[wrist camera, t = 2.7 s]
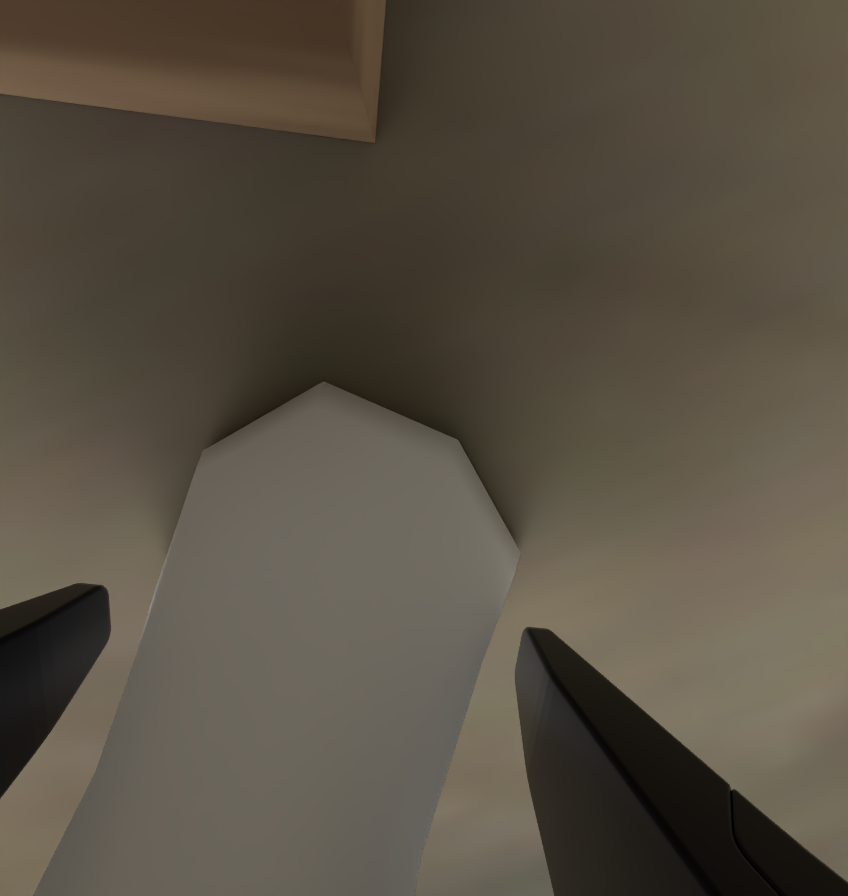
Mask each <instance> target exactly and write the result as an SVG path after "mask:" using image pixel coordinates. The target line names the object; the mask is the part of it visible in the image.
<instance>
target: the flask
mask: <svg viewBox="0 0 848 896" xmlns="http://www.w3.org/2000/svg"><path fill="white" fill-rule="evenodd" d="M520 555H521V552H520V551H519V549H518V547H517V545H516V543H515V542H514V540H513V538H512V536H511V534H510V533H509V531H508V529H507V527H506V525H505V524H504V522H503V520H502V518H501V516H500V515H499V513H498V511H497V509H496V507H495V506H494V504H493V502H492V500H491V498H490V497H489V495H488V493H487V491H486V489H485V488H484V486H483V484H482V482H481V480H480V479H479V477H478V475H477V473H476V471H475V470H474V468H473V466H472V464H471V462H470V461H469V459H468V457H467V455H466V453H465V452H464V450H463V448H462V446H461V444H460V443H459V441H458V440H457V439H455V438H453V437H450V436H448V435H446V434H443V433H441V432H439V431H437V430H434V429H432V428H430V427H427V426H425V425H423V424H420V423H418V422H416V421H414V420H411V419H409V418H407V417H404V416H402V415H400V414H398V413H395V412H393V411H391V410H388V409H386V408H384V407H381V406H379V405H377V404H375V403H372V402H370V401H368V400H365V399H363V398H361V397H358V396H356V395H354V394H352V393H349V392H347V391H345V390H342V389H340V388H338V387H335V386H333V385H331V384H329V383H326V382H324V381H323V382H321V383H320V384H318V385H316V386H314V387H313V388H311V389H309V390H307V391H306V392H304V393H302V394H300V395H299V396H297V397H295V398H294V399H292V400H290V401H288V402H287V403H285V404H283V405H281V406H280V407H278V408H276V409H274V410H273V411H271V412H269V413H267V414H266V415H264V416H262V417H260V418H259V419H257V420H255V421H253V422H252V423H250V424H248V425H247V426H245V427H243V428H241V429H240V430H238V431H236V432H234V433H233V434H231V435H229V436H227V437H226V438H224V439H222V440H220V441H219V442H217V443H215V444H213V445H212V446H210V447H208V448H206V449H205V450H203V451H202V453H201V456H200V459H199V462H198V465H197V468H196V470H195V473H194V476H193V479H192V482H191V485H190V488H189V491H188V494H187V497H186V500H185V503H184V506H183V509H182V512H181V515H180V518H179V521H178V524H177V527H176V530H175V533H174V536H173V539H172V542H171V544H170V547H169V550H168V553H167V556H166V559H165V562H164V565H163V568H162V571H161V574H160V577H159V580H158V583H157V586H156V589H155V592H154V596H153V599H152V602H151V606H150V609H149V613H148V616H147V620H146V623H145V627H144V630H143V633H142V637H141V640H140V644H139V647H138V651H137V654H136V657H135V660H134V663H133V666H132V669H131V672H130V675H129V677H128V680H127V683H126V686H125V689H124V692H123V695H122V698H121V700H120V703H119V706H118V709H117V712H116V715H115V718H114V720H113V723H112V726H111V729H110V732H109V735H108V738H107V741H106V743H105V746H104V749H103V752H102V755H101V758H100V761H99V763H98V766H97V769H96V772H95V774H94V776H93V778H92V780H91V782H90V784H89V786H88V788H87V790H86V792H85V794H84V796H83V798H82V800H81V802H80V804H79V806H78V808H77V810H76V811H75V813H74V815H73V817H72V819H71V821H70V823H69V825H68V827H67V829H66V831H65V833H64V835H63V837H62V839H61V841H60V843H59V845H58V847H57V849H56V851H55V853H54V855H53V857H52V859H51V861H50V863H49V865H48V867H47V869H46V871H45V873H44V875H43V877H42V879H41V881H40V883H39V885H38V887H37V889H36V891H35V893H34V895H33V896H415V891H416V885H417V879H418V874H419V868H420V862H421V856H422V852H423V849H424V846H425V842H426V839H427V836H428V833H429V830H430V827H431V823H432V820H433V817H434V814H435V811H436V807H437V804H438V801H439V798H440V795H441V791H442V788H443V785H444V782H445V779H446V776H447V772H448V769H449V766H450V763H451V760H452V756H453V753H454V750H455V747H456V744H457V740H458V737H459V734H460V731H461V728H462V724H463V721H464V718H465V715H466V712H467V709H468V705H469V702H470V699H471V696H472V693H473V689H474V686H475V683H476V680H477V677H478V673H479V670H480V667H481V664H482V661H483V658H484V656H485V653H486V650H487V648H488V645H489V642H490V640H491V637H492V634H493V631H494V629H495V626H496V623H497V621H498V618H499V615H500V613H501V610H502V607H503V605H504V602H505V599H506V597H507V594H508V591H509V588H510V586H511V583H512V580H513V578H514V574H515V571H516V568H517V565H518V561H519V558H520Z"/></svg>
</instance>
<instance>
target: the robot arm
mask: <svg viewBox="0 0 848 896" xmlns="http://www.w3.org/2000/svg"><path fill="white" fill-rule="evenodd" d="M110 631H111V622H110V607H109V594H108V591H107V589H106V588H105V587H104V586H103V585H95V584H85V583H77V584H73V585H70V586H68V587H65V588H62V589H59V590H56V591H53V592H50V593H47V594H44V595H41V596H38V597H35V598H33V599H30V600H27V601H24V602H21V603H18V604H15V605H12V606H9V607H6V608H3V609H0V798H1V797H2V796H3V795H4V793H5V792H6V791H7V789H8V788H9V787H10V785H11V784H12V783H13V781H14V780H15V779H16V777H17V776H18V775H19V774H20V772H21V771H22V770H23V768H24V767H25V766H26V764H27V763H28V762H29V760H30V759H31V758H32V756H33V755H34V754H35V753H36V751H37V750H38V748H39V747H40V746H41V744H42V743H43V742H44V740H45V739H46V738H47V736H48V735H49V733H50V732H51V730H52V729H53V727H54V726H55V724H56V723H57V721H58V720H59V718H60V717H61V715H62V714H63V712H64V711H65V709H66V707H67V706H68V704H69V703H70V701H71V699H72V698H73V696H74V695H75V693H76V692H77V690H78V688H79V687H80V685H81V684H82V682H83V680H84V679H85V677H86V676H87V674H88V673H89V671H90V669H91V668H92V666H93V665H94V663H95V661H96V660H97V658H98V657H99V655H100V654H101V652H102V650H103V649H104V647H105V646H106V644H107V642H108V639H109V636H110ZM515 685H516V693H517V701H518V709H519V717H520V725H521V734H522V742H523V750H524V758H525V765H526V772H527V778H528V783H529V788H530V793H531V797H532V801H533V806H534V810H535V814H536V818H537V823H538V827H539V831H540V836H541V840H542V844H543V849H544V853H545V857H546V861H547V866H548V870H549V874H550V879H551V883H552V887H553V892H554V896H848V882H847V881H845V880H844V879H843V878H842V877H840V876H839V875H838V874H837V873H835V872H834V871H833V870H832V869H830V868H829V867H828V866H827V865H825V864H824V863H823V862H821V861H820V860H819V859H818V858H816V857H815V856H814V855H813V854H811V853H810V852H809V851H808V850H807V849H805V848H804V847H803V846H802V845H801V844H799V843H798V842H797V841H796V840H795V839H793V838H792V837H791V836H790V835H789V834H787V833H786V832H785V831H784V830H783V829H781V828H780V827H779V826H778V825H777V824H775V823H774V822H773V821H772V820H771V819H769V818H768V817H767V816H766V815H765V814H763V813H762V812H761V811H760V810H759V809H758V808H756V807H755V806H754V805H753V804H752V803H751V802H750V801H748V800H747V799H746V798H745V797H744V796H743V795H741V794H740V793H739V792H738V791H737V790H735V789H732V790H731V788H730V785H729V784H728V783H727V782H726V781H725V780H724V779H723V778H721V777H720V776H719V775H718V774H717V773H716V772H714V771H713V770H712V769H711V768H710V767H709V766H707V765H706V764H705V763H704V762H703V761H702V760H701V759H699V758H698V757H697V756H696V755H695V754H694V753H692V752H691V751H690V750H689V749H688V748H687V747H685V746H684V745H683V744H682V743H681V742H680V741H678V740H677V739H676V738H675V737H674V736H673V735H671V734H670V733H669V732H668V731H667V730H666V729H665V728H663V727H662V726H661V725H660V724H659V723H658V722H656V721H655V720H654V719H653V718H652V717H651V716H649V715H648V714H647V713H646V712H645V711H644V710H642V709H641V708H640V707H639V706H638V705H637V704H636V703H634V702H633V701H632V700H631V699H630V698H629V697H627V696H626V695H625V694H624V693H623V692H622V691H620V690H619V689H618V688H617V687H616V686H615V685H613V684H612V683H611V682H610V681H609V680H608V679H606V678H605V677H604V676H603V675H602V674H601V673H600V672H598V671H597V670H596V669H595V668H594V667H593V666H591V665H590V664H589V663H588V662H587V661H586V660H584V659H583V658H582V657H581V656H580V655H579V654H577V653H576V652H575V651H574V650H573V649H572V648H570V647H569V646H568V645H567V644H566V643H565V642H564V641H562V640H561V639H560V638H559V637H558V636H557V635H555V634H554V633H553V632H552V631H550V630H549V629H545V628H534V627H527V628H525V629H524V631H523V633H522V637H521V642H520V647H519V652H518V657H517V662H516V668H515Z"/></svg>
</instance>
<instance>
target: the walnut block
mask: <svg viewBox="0 0 848 896" xmlns="http://www.w3.org/2000/svg"><path fill="white" fill-rule="evenodd" d="M385 8H386V0H0V94H6V95H14V96H22V97H29V98H37V99H44V100H52V101H60V102H67V103H75V104H82V105H90V106H98V107H105V108H113V109H120V110H128V111H136V112H143V113H151V114H158V115H166V116H174V117H181V118H189V119H196V120H204V121H212V122H219V123H227V124H234V125H242V126H250V127H257V128H265V129H272V130H280V131H287V132H295V133H303V134H310V135H318V136H325V137H333V138H341V139H348V140H356V141H363V142H371V143H375V137H376V124H377V111H378V98H379V85H380V72H381V59H382V47H383V34H384V21H385Z"/></svg>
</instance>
